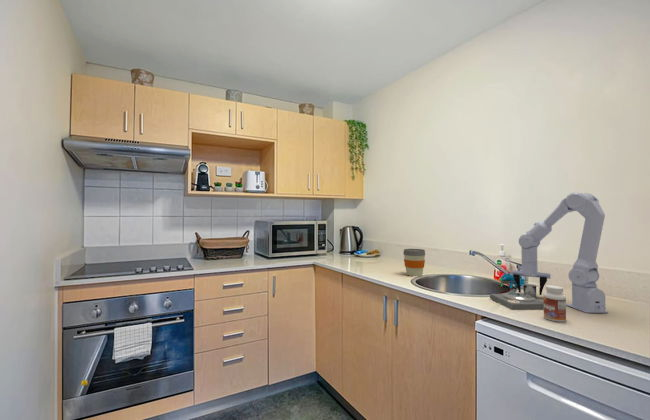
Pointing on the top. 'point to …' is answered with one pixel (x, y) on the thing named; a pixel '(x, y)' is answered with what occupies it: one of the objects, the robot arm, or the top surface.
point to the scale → (517, 301)
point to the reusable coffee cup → (414, 261)
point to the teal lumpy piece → (510, 280)
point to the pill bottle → (554, 304)
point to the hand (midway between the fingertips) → (529, 293)
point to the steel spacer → (530, 289)
